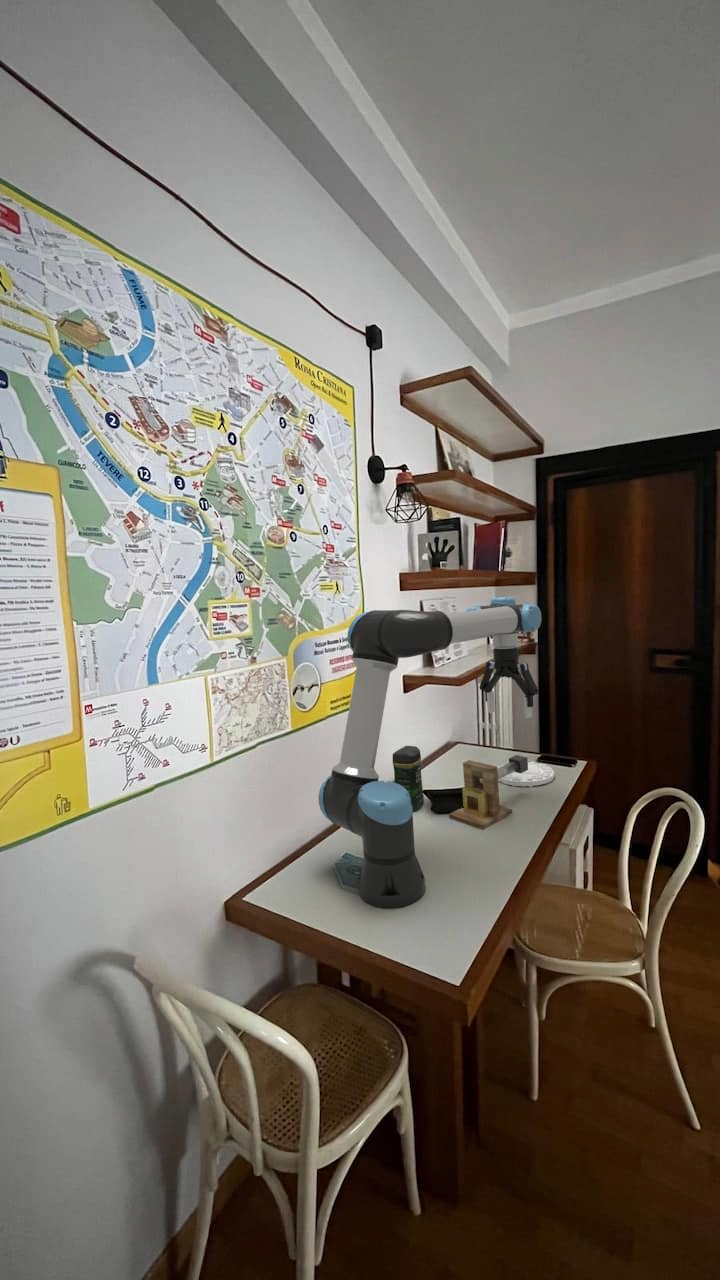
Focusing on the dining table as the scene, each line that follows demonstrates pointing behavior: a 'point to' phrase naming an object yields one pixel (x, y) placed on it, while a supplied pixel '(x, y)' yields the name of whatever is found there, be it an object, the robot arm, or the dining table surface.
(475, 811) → the spacer
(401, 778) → the coffee jar
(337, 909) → the dining table surface
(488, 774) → the bracket
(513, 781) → the giant coin
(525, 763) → the shaft
